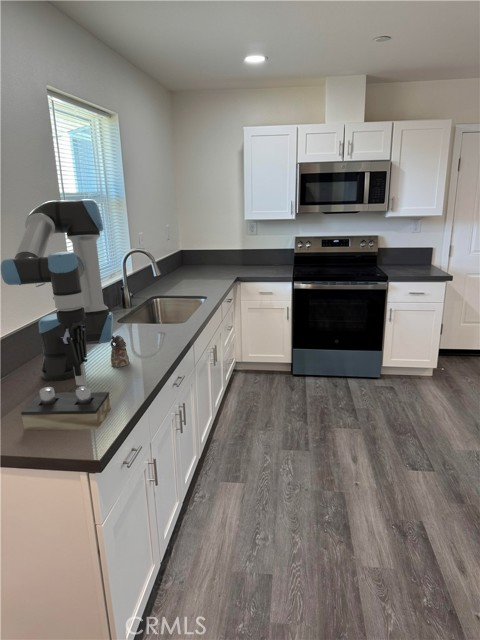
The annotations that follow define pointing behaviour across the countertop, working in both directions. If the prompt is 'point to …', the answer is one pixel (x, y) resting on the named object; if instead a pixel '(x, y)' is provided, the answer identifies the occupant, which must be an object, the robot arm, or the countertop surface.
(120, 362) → the figurine
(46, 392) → the steel peg
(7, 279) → the robot arm
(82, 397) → the steel peg
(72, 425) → the block
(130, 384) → the countertop surface
